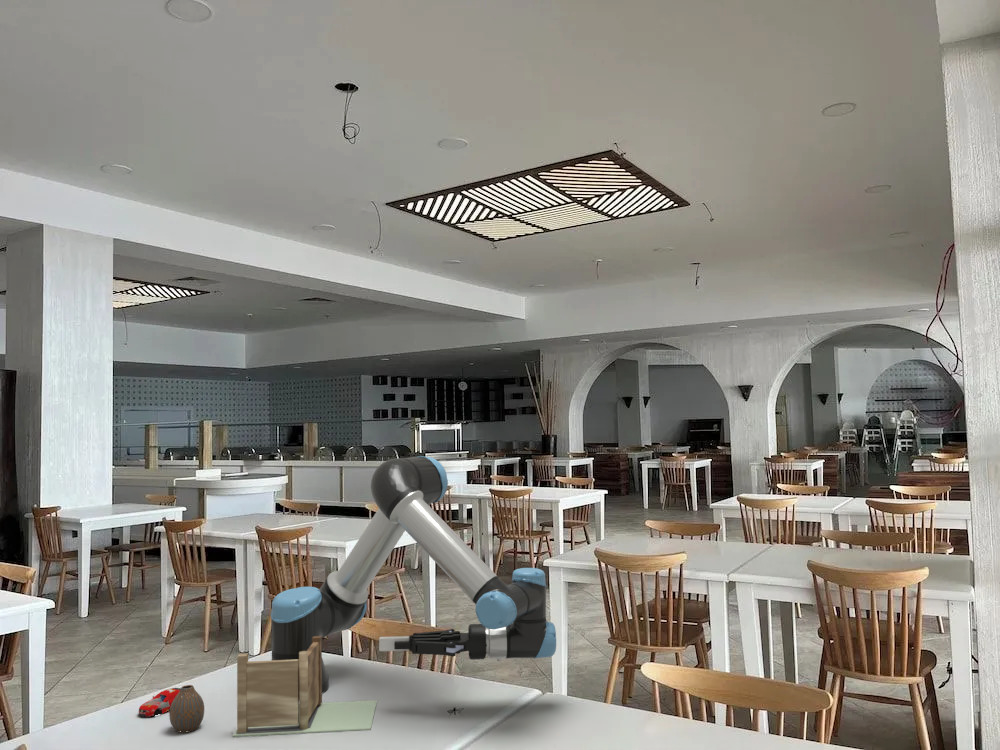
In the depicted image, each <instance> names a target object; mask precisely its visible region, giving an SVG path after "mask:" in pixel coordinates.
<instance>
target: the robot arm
mask: <svg viewBox="0 0 1000 750" xmlns="http://www.w3.org/2000/svg"><path fill="white" fill-rule="evenodd" d="M448 484H449V479H448V474H447V471H446V469H445V467H444V466H443V465H442V463H441V462H440V461H438V460H437V459H435V458H433V457H430V456H422V455H418V456H413V457H412V456H411V457H401V458H400V457H396V458H390V459H387V460H386V461H384V462H382V463H380V465H379V466H378V467H377V468H376V469H375V471H374V473H373V475H372V476H371V481H370V491H371V495H372V498H373V501H374V503H375V504H376V506H377V510H376V512H375V513H374V515H373V517H372V518H371V520H370V522H369V523H368V524H367V526H366V528H365V529H364V530H363V533H362V534H361V535H360V537H359V538H358V540H357V541H356V543H355V545H354V546H353V548H352V550H351V551H350V552H349V554H348V556H347V557H346V559H345V560H344V562H343V564H342V565H341V567H340V568H339V570H335V571H332V572H330V573H329V574H328V576H327V577H326V579H325V580H324V582H323V583H322V585H321V586H320V587H319V588H318V587H315V586H298V587H296V588H290V589H287V590H283V591H281V592H280V593H277V595H275V596H274V598H273V599H272V602H271V611H270V620H271V623H270V624H271V628H270V629H271V659H270V661H272V660H294V659H299V652H301V651H307V650H308V648H309V647H310V646H311V645H312V638H313V636H322V638H325V637H328V636H330V635H333V634H336V633H338V632H342V631H347V630H349V629H351V628H352V627H354V626H355V625H357V624H359V623H360V622H361V621H362V619H363V618H364V616H365V614H366V612H367V609H368V608H367V607H368V604H367V602H368V597H369V591H368V588H369V586H370V585H371V583H372V582H373V580H374V579H375V577H376V576H377V574H378V573H379V572H380V571H381V570H380V569H381V568H382V567H383V565H384V563H385V562H386V560H387V559H388V558H389V556H390V554H392V552H393V550H394V548H395V547H396V545H397V544H398V543H399V541H400V540H401V538H402V536H403V534H404V533H405V532H407V534H408V535H409V536H410V537H411V538H412V539H413V540H414V541H415V542H416V543H417V544H418V545H419V547H421V549H422V550H423V551H424V552H425V553H426V554H427V555H428V556H429V557H430V558H431V559H432V560H433V561H434V562H435V563H436V564H437V565H438V567H439V568H441V570H442V571H443V572H444V573H445V574H446V575H447V576H448V577H449V578H450V579H451V580H452V581H453V582H454V583H455V585H457V587H459V589H460V590H461V591H462V593H464V594H465V595H466V596H467V597H468V598H469V599H470V600H471V602H473V604H474V605H475V615H476V617H477V620H478V622H479V623H472V624H471V623H470V624H469V625H468V628H467V629H468V632H461V631H460V630H456V629H454V628H450V629H446V630H435V631H425V632H424V631H423V632H414V633H412V634H410V635H403V636H400V635H399V636H379V638H378V639H379V640H378V645H379V646H378V648H379V649H378V651H379V652H401V651H404V652H406V651H409V652H411V653H412V655H433V656H434V655H436V656H437V655H438V656H447V657H456V655H458V654H461V653H462V652H463V653H464V652H468V658H469V660H470V661H472V660H475V661H476V660H477V661H478V660H485V659H486V657H488V659H489V660H497V661H498V662H500V661H502V660H503V659H505V660H507V659H534V660H536V659H543V658H551V657H553V656H554V655H555V654H556V651H557V631H556V626H555V624H554V623H553V622H550V621H548V620H547V583H546V573H545V572H544V570H542V569H540V568H537V567H521V568H517V569H515V570H513V572H512V577H511V578H512V579H511V583H510V584H506V583H505V582H504V581H503V580H502V579H501V578H500V577H499V576H498V575H497V574H496V573H495V572H494V571H493V570H492V569H491V568H490V567H489V566H488V565H487V564H486V563H485V562H484V561H483V560H482V559H481V558H480V557H479V556H478V555H477V554H476V552H475V551H474V550H472V548H471V547H469V546H468V545H467V544H466V542H464V540H463V539H462V538H461V537H460V536H459V535H458V534H457V533H456V532H455V531H454V530H453V528H451V527H450V526H449V524H447V522H446V521H444V520H443V518H442V517H440V515H439V514H437V513H436V512H435V510H434V509H433V508H432V507H431V506H430V505H431V504H436V503H437V502H439V501H441V500H442V499H443V498H444V497H445V494H446V493H447V490H448V486H449V485H448ZM329 679H330V678H329V674H328V671H327V669H326V666H325V662H324V660H323V658H322V694H323V693H325V692H327V690H329V687H330V684H329V683H330V681H329Z"/></svg>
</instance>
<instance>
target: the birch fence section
mask: <svg viewBox="0 0 1000 750" xmlns="http://www.w3.org/2000/svg"><path fill="white" fill-rule="evenodd" d="M236 659H237V660H236V662H237V663H236V664H237V665H236V669H237V671H236V677H237V678H236V681H237V683H236V686H237V687H236V692H237V693H236V695H237V696H236V698H237V699H236V702H237V703H236V710H237V712H236V723H237V724H236V726H237V727H236V728H237V729H236V730H237V733H244V732H247V730H248V727H264V726H283V725H298V724H299V729H303V730H306V729H308V651H301V652H299V659H294V660H272V659H271V660H272V661H271V660H253V661H252V660H251V661H249V653H248V652H247V653H238V655H237V657H236Z"/></svg>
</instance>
